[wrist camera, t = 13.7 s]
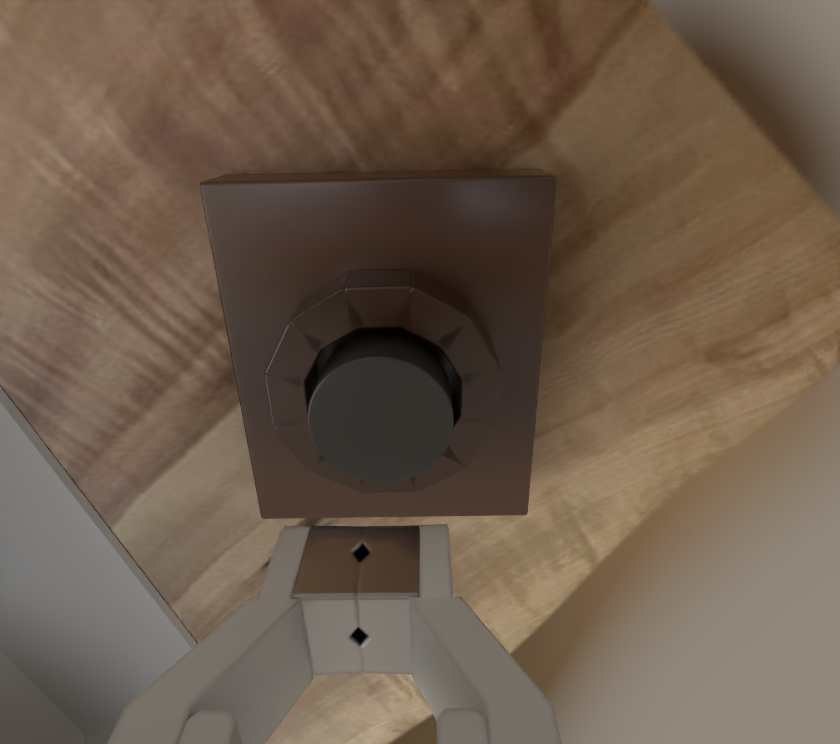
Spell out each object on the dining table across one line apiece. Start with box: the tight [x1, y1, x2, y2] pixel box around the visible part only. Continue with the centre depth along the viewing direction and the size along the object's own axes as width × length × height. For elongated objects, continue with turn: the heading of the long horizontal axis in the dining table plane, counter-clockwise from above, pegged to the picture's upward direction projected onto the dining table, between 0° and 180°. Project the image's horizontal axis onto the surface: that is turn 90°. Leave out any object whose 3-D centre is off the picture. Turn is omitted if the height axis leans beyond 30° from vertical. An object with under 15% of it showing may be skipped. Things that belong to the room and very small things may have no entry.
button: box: [307, 333, 454, 483], centre depth 15 cm, size 4×4×2 cm
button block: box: [200, 169, 557, 519], centre depth 18 cm, size 12×10×4 cm
